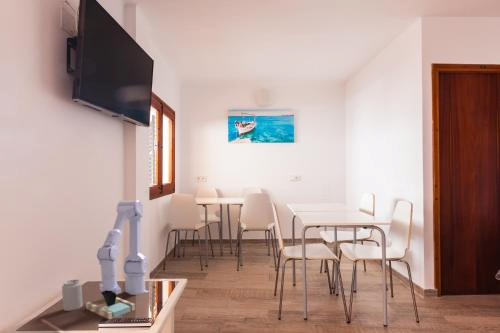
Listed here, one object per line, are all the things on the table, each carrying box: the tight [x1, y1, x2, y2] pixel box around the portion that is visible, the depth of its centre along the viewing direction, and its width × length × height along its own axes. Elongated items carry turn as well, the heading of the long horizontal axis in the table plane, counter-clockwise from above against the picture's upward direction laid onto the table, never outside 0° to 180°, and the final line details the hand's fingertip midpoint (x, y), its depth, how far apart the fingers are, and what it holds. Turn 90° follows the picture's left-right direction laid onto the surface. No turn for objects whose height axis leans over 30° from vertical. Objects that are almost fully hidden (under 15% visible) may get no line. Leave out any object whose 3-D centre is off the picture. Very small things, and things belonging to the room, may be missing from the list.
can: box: [61, 278, 84, 311], centre depth 153 cm, size 8×8×12 cm
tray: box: [85, 296, 136, 320], centre depth 148 cm, size 20×11×3 cm, turn 49°
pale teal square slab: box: [104, 303, 132, 318], centre depth 144 cm, size 8×7×2 cm
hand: (111, 308), depth 147 cm, fingers closed
